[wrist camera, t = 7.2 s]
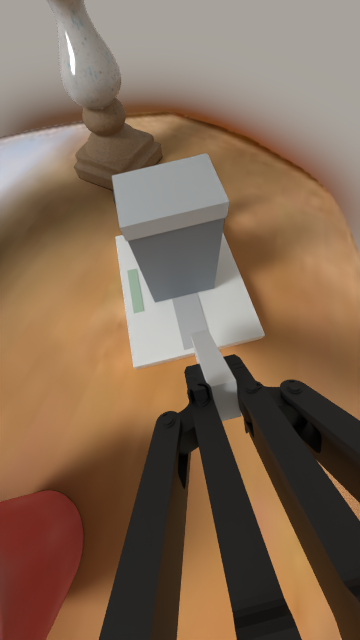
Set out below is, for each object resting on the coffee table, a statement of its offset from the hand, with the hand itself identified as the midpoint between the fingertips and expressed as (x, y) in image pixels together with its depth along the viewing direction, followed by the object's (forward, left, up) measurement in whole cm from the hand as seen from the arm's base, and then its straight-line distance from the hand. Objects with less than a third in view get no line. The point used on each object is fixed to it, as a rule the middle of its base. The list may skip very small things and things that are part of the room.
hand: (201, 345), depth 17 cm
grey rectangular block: (-8, +5, -4) cm, 10 cm away
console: (-8, +5, -5) cm, 11 cm away
